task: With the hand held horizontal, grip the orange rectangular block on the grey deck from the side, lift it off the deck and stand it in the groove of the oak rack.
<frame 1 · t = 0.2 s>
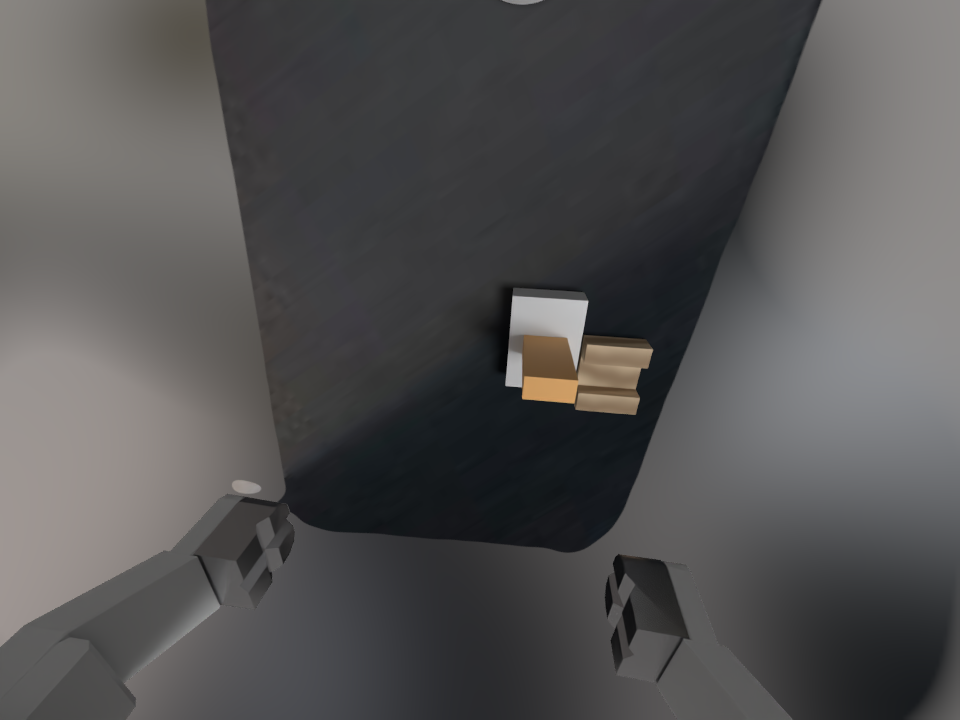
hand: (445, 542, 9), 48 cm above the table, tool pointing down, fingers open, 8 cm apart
orange rectangular block: (544, 346, 54), point 4 cm above the table, touching deck
deck: (542, 335, 58), on the table
rack: (607, 369, 59), on the table
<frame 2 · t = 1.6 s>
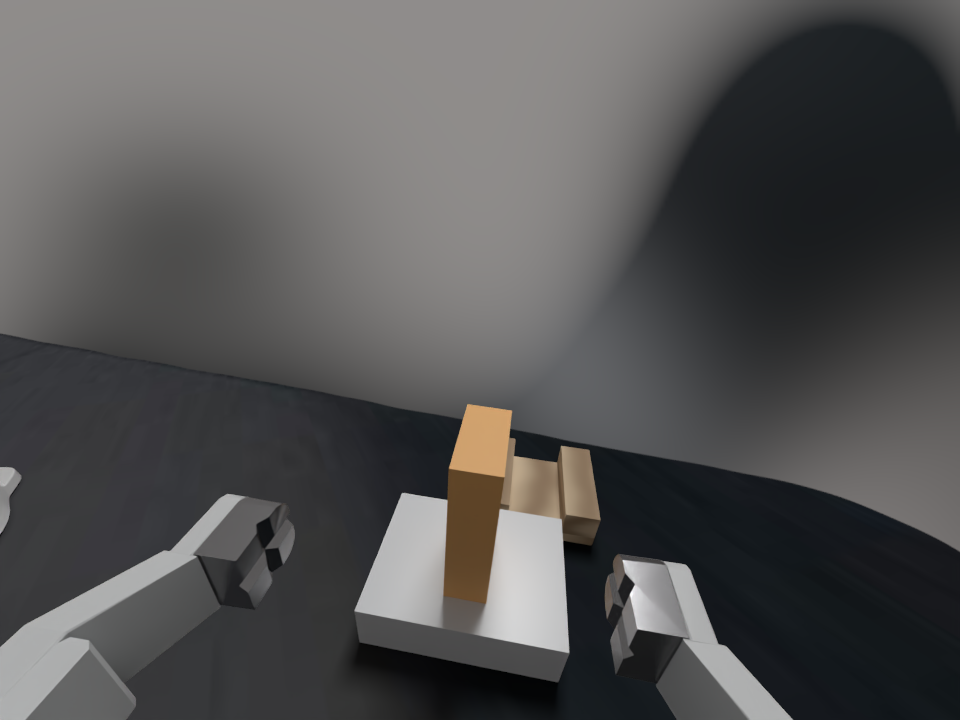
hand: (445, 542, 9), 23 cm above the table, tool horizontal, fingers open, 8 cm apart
orange rectangular block: (471, 559, 29), point 4 cm above the table, touching deck
deck: (468, 589, 31), on the table
rack: (532, 497, 40), on the table
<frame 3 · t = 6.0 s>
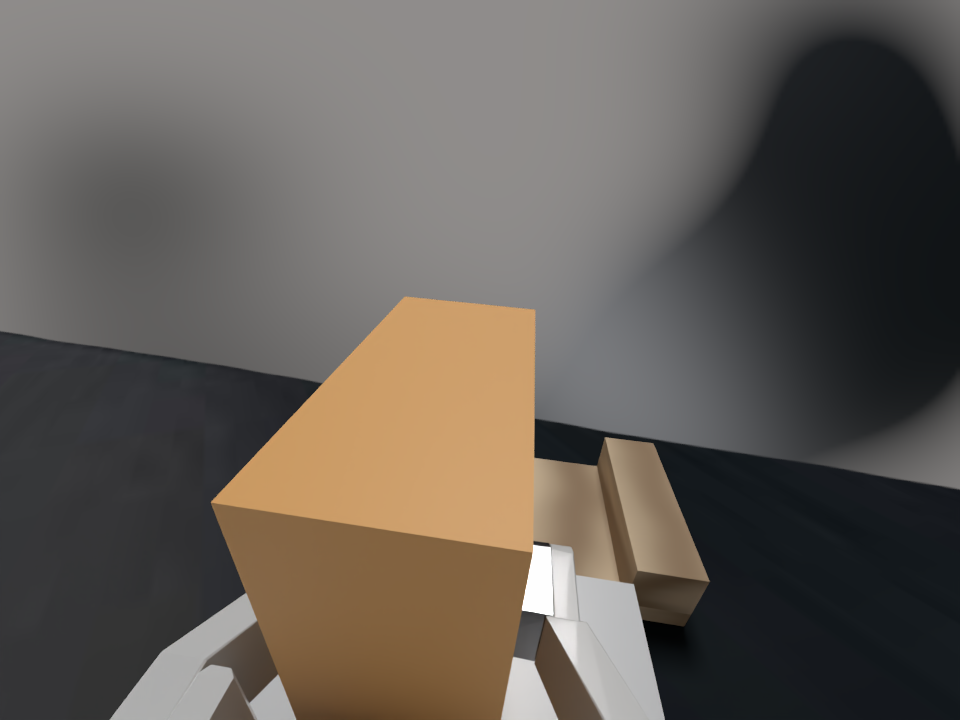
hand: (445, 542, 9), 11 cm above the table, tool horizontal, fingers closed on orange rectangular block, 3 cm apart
orange rectangular block: (436, 706, 12), point 4 cm above the table, touching deck, gripper
rack: (560, 527, 22), on the table
when the fingers open (9 cm above the table, at t = 11.5 s): orange rectangular block drops 2 cm, resting on rack.
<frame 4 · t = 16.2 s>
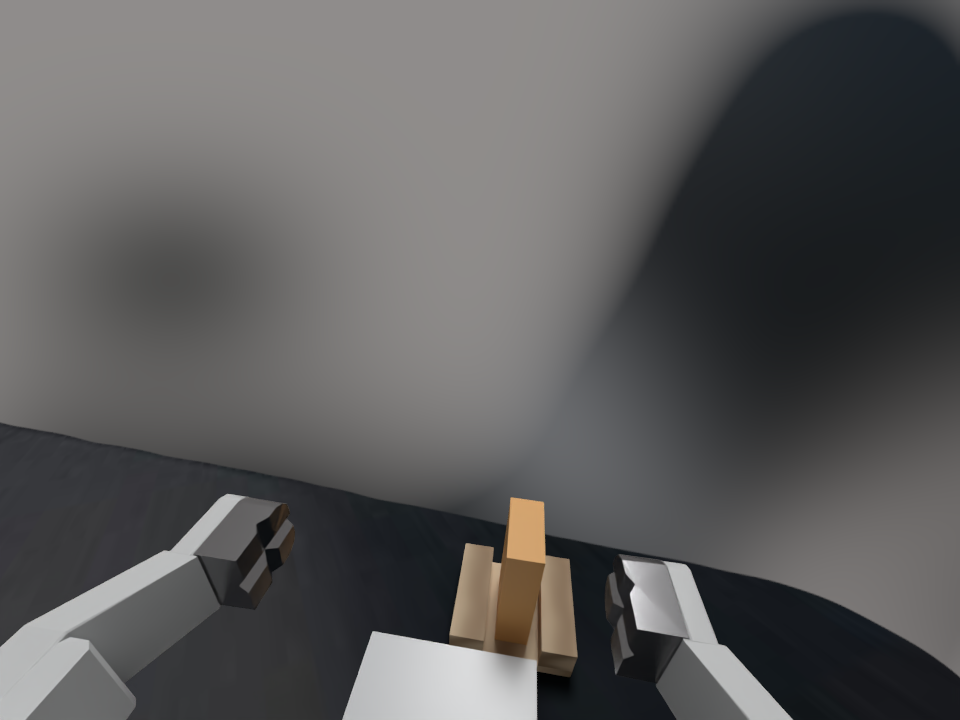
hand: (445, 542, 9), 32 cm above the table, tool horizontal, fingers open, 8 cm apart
orange rectangular block: (512, 608, 38), point 1 cm above the table, touching rack
rack: (511, 613, 38), on the table
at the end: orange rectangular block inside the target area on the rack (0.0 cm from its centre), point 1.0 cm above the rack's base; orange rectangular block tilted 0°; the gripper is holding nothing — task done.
